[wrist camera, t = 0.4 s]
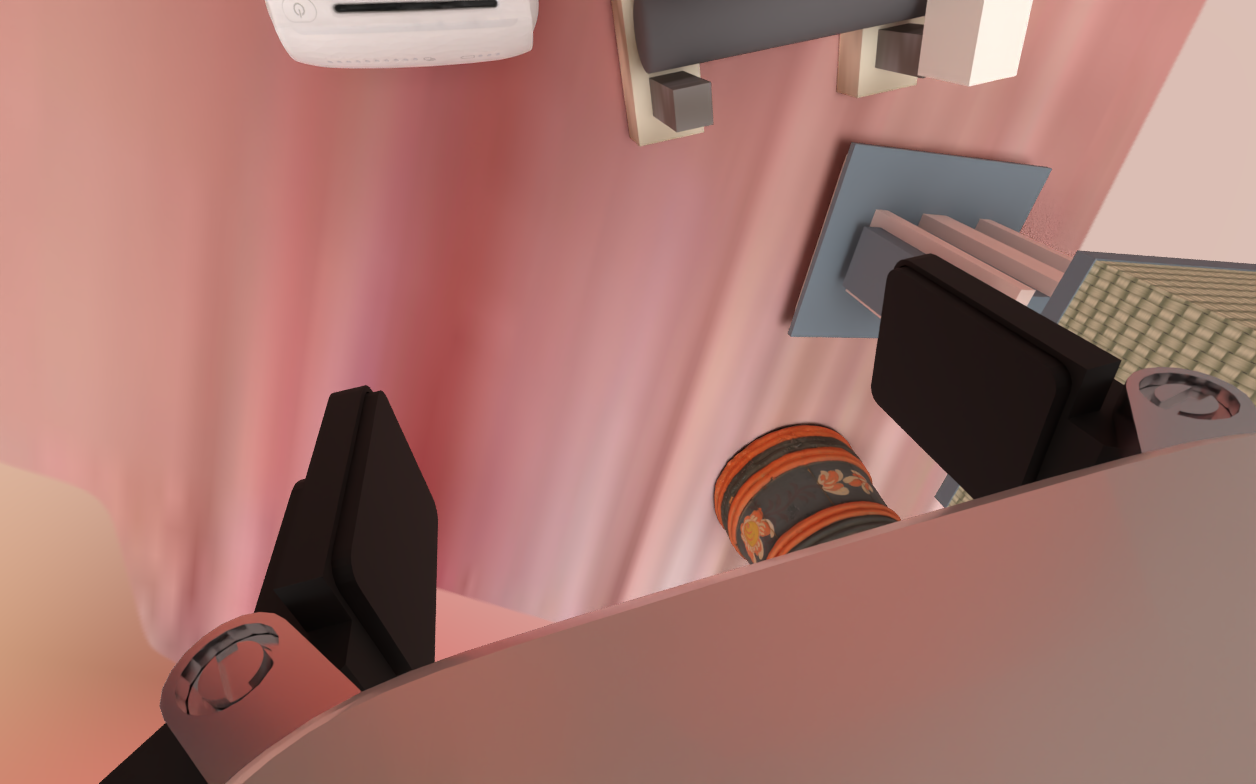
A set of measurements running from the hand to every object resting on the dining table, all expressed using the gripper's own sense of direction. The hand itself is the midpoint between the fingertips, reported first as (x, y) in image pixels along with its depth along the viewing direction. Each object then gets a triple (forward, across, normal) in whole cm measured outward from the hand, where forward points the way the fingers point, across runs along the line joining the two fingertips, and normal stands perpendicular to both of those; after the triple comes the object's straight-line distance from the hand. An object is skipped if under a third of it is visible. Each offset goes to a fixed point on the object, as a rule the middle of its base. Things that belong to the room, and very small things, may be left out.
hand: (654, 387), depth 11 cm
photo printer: (+30, +4, -6) cm, 31 cm away
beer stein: (+30, -17, +40) cm, 53 cm away
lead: (+27, -16, -3) cm, 31 cm away
